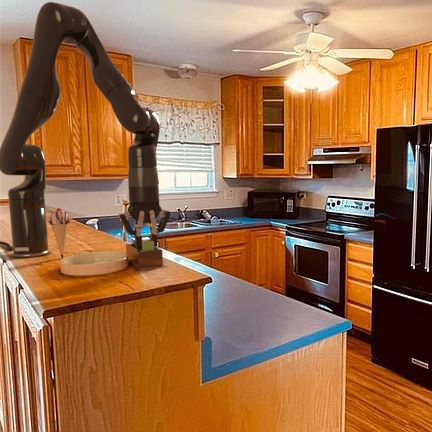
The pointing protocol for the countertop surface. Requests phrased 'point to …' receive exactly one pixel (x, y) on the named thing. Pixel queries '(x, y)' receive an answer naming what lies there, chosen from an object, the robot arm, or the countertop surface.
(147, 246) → the green block
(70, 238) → the countertop surface
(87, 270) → the bowl
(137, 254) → the holder
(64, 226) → the ice cream cone
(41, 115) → the robot arm
